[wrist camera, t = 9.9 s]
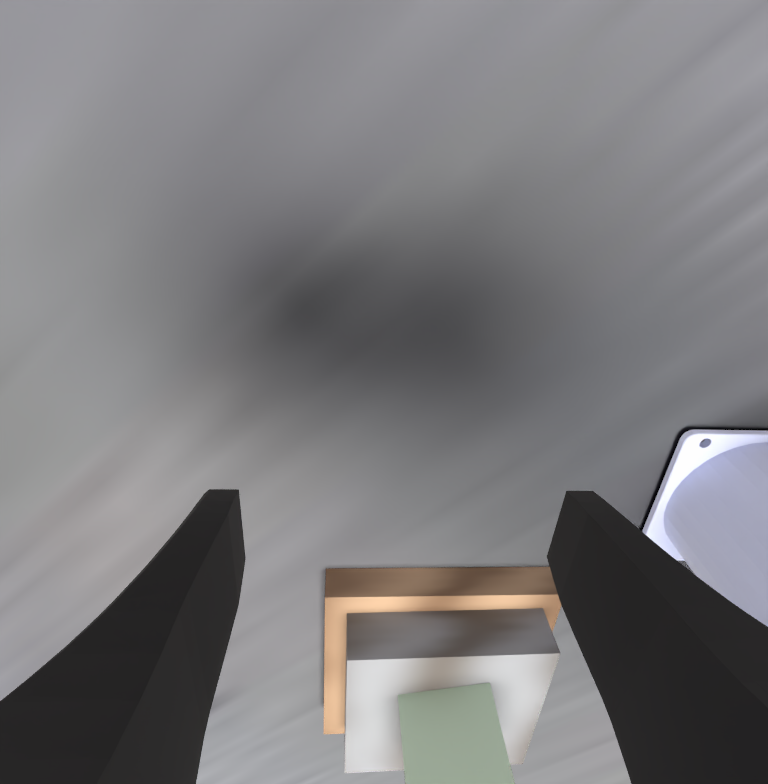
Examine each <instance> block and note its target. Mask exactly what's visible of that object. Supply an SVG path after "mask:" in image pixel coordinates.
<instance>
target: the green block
mask: <svg viewBox="0 0 768 784" xmlns="http://www.w3.org/2000/svg"><path fill="white" fill-rule="evenodd" d="M398 703H399V715H400V727H401V739H402V751H403V762H404V774H405V784H515V782H514V778H513V774H512V770H511V766H510V762H509V758H508V754H507V750H506V746H505V742H504V738H503V734H502V730H501V726H500V722H499V718H498V713H497V709H496V705H495V701H494V697H493V693H492V689H491V685H490V683H484V684H476V685H469V686H461V687H454V688H446V689H438V690H431V691H423V692H416V693H408V694H401V695H398Z"/></svg>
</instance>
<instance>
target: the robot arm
mask: <svg viewBox="0 0 768 784" xmlns="http://www.w3.org/2000/svg"><path fill="white" fill-rule="evenodd" d="M703 439H705V440H704V441H703V442H701V441H702V440H703ZM700 442H701V443H700ZM547 558H548V562H549V566H550V569H551V573H552V577H553V580H554V584H555V587H556V590H557V593H558V597H559V600H560V602H561V605H562V607H563V610H564V612H565V614H566V617H567V619H568V621H569V624H570V626H571V628H572V631H573V633H574V635H575V638H576V640H577V642H578V644H579V647H580V649H581V651H582V654H583V656H584V658H585V660H586V663H587V665H588V667H589V670H590V672H591V674H592V676H593V679H594V681H595V683H596V686H597V688H598V690H599V692H600V695H601V697H602V699H603V702H604V704H605V707H606V709H607V712H608V715H609V717H610V720H611V722H612V725H613V728H614V731H615V734H616V737H617V740H618V743H619V746H620V749H621V752H622V755H623V758H624V761H625V764H626V768H627V771H628V774H629V777H630V780H631V783H632V784H768V431H760V430H689V431H687V432H685V433H684V434H683V435H682V436H681V438H680V440H679V442H678V445H677V447H676V449H675V452H674V454H673V457H672V459H671V462H670V464H669V467H668V469H667V472H666V474H665V476H664V479H663V481H662V484H661V486H660V489H659V491H658V494H657V496H656V498H655V501H654V503H653V506H652V508H651V511H650V513H649V516H648V518H647V521H646V523H645V525H644V528H643V530H642V531H641V530H639V529H638V528H637V527H636V526H635V525H633V524H632V523H631V522H630V521H629V520H628V519H626V518H625V517H624V516H623V515H622V514H620V513H619V512H618V511H617V510H616V509H615V508H613V507H612V506H611V505H610V504H609V503H607V502H606V501H605V500H604V499H602V498H601V497H600V496H599V495H597V494H596V493H595V492H593V491H566V495H565V498H564V501H563V505H562V508H561V511H560V515H559V518H558V521H557V525H556V528H555V532H554V535H553V538H552V542H551V545H550V548H549V552H548V555H547ZM678 561H685V562H686V563H687V564H688V566H689V567H690V568H691V570H692V571H693V573H694V574H695V575H694V574H693V573H692V572H691V571H689V570H688V569H687V568H686V567H684V566H683V565H682V564H681V563H679V562H678ZM244 565H245V550H244V540H243V529H242V519H241V509H240V499H239V490H211V489H209V490H208V491H207V492H206V493H205V494H204V495H203V496H202V498H201V499H200V500H199V502H198V503H197V504H196V506H195V507H194V508H193V510H192V511H191V512H190V514H189V515H188V516H187V517H186V519H185V520H184V521H183V523H182V524H181V525H180V526H179V528H178V529H177V530H176V531H175V533H174V534H173V535H172V536H171V538H170V539H169V540H168V541H167V542H166V543H165V545H164V546H163V547H162V548H161V549H160V550H159V552H158V553H157V554H156V555H155V556H154V558H153V559H152V560H151V561H150V562H149V563H148V565H147V566H146V567H145V568H144V569H143V570H142V571H141V572H140V573H139V574H138V576H137V577H136V578H135V579H134V580H133V581H132V582H131V583H130V584H129V585H128V586H127V587H126V588H125V589H124V590H123V591H122V593H121V594H120V595H119V596H118V597H117V598H116V599H115V600H114V601H113V602H112V603H111V604H110V605H109V606H108V607H107V608H106V609H105V610H104V611H103V612H102V613H101V614H100V615H99V616H98V617H97V618H96V619H95V620H94V621H93V622H92V623H91V624H90V625H89V626H88V627H86V628H85V629H84V630H83V631H82V632H81V633H80V634H79V635H78V636H77V637H76V638H75V639H73V640H72V641H71V642H70V643H69V644H68V645H67V646H66V647H65V648H64V649H62V650H61V651H60V652H59V653H58V654H57V655H55V656H54V657H53V658H52V659H51V660H50V661H48V662H47V663H46V664H45V665H44V666H43V667H41V668H40V669H39V670H38V671H37V672H35V673H34V674H33V675H32V676H31V677H30V678H28V679H27V680H26V681H25V682H24V683H22V684H21V685H20V686H19V687H17V688H16V689H15V690H14V691H12V692H11V693H10V694H9V695H7V696H6V697H5V698H4V699H2V700H1V701H0V784H196V779H197V774H198V768H199V762H200V757H201V751H202V745H203V740H204V735H205V730H206V726H207V722H208V717H209V713H210V709H211V705H212V702H213V698H214V694H215V691H216V687H217V683H218V680H219V676H220V672H221V668H222V665H223V661H224V657H225V654H226V650H227V646H228V642H229V639H230V635H231V631H232V627H233V624H234V620H235V616H236V612H237V608H238V604H239V598H240V592H241V585H242V579H243V572H244Z"/></svg>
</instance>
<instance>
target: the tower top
mask: <svg viewBox="0 0 768 784" xmlns="http://www.w3.org/2000/svg"><path fill="white" fill-rule="evenodd" d="M559 656H560V651H559V649H558V646H557V643H556V641H555V638H554V636H553V633H552V630H551V628H550V625H549V623H548V620H547V617H546V615H545V612H544V610H543V608H533V609H492V610H452V611H413V612H376V613H347V626H346V679H345V773H356V772H376V771H395V770H404V762H403V751H402V739H401V727H400V715H399V703H398V695H401V694H408V693H416V692H423V691H431V690H438V689H446V688H454V687H461V686H469V685H476V684H484V683H490V685H491V689H492V693H493V697H494V701H495V705H496V709H497V713H498V718H499V722H500V726H501V730H502V734H503V738H504V742H505V746H506V750H507V754H508V758H509V762H510V765H512V764H523V761H524V758H525V755H526V753H527V750H528V747H529V744H530V741H531V738H532V735H533V732H534V729H535V726H536V723H537V720H538V717H539V714H540V712H541V709H542V706H543V703H544V700H545V697H546V694H547V691H548V688H549V685H550V682H551V679H552V676H553V673H554V671H555V668H556V665H557V662H558V659H559Z"/></svg>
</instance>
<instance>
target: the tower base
mask: <svg viewBox="0 0 768 784" xmlns="http://www.w3.org/2000/svg"><path fill="white" fill-rule="evenodd" d="M533 608H543V610H544V612H545V615H546V617H547V620H548V623H549V625H550V628H551V630H552V631H553V628H554V625H555V622H556V619H557V616H558V613H559V610H560V608H561V602H560V600H559V597H558V593H557V590H556V587H555V584H554V580H553V577H552V573H551V569H550V567H456V568H332V569H326V583H325V649H324V734H341V733H345V679H346V626H347V613H376V612H413V611H452V610H492V609H533Z"/></svg>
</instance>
